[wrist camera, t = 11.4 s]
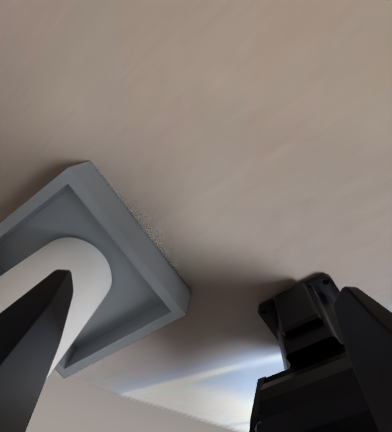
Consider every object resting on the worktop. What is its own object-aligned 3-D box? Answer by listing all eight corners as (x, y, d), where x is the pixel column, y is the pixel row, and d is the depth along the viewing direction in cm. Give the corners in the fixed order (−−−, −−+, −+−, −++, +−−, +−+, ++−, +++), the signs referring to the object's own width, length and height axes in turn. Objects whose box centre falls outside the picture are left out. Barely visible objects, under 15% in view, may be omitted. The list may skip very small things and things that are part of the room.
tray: (191, 291, 25) (185, 314, 22) (81, 351, 29) (64, 378, 26) (90, 160, 22) (68, 167, 19) (-17, 245, 26) (-49, 262, 23)
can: (112, 308, 26) (18, 457, 14) (43, 294, 26) (-101, 428, 15) (116, 242, 24) (9, 358, 12) (40, 228, 24) (-130, 327, 13)
